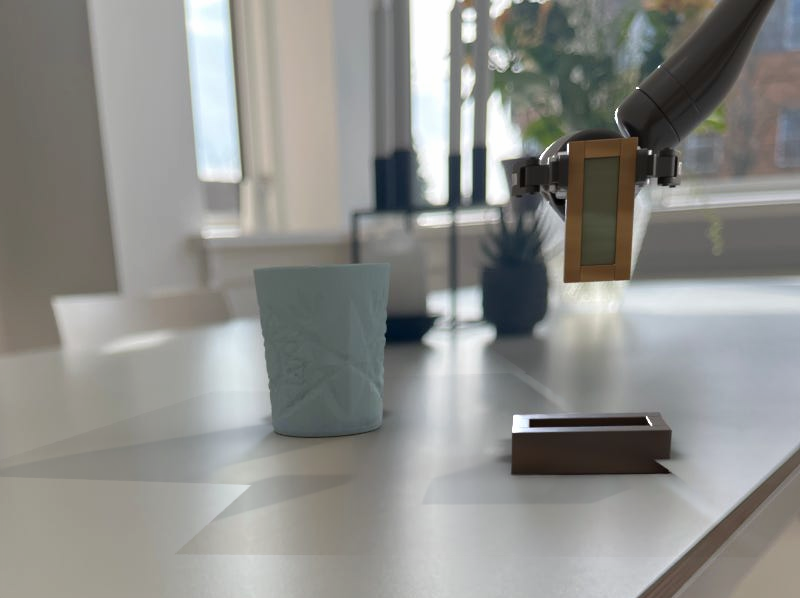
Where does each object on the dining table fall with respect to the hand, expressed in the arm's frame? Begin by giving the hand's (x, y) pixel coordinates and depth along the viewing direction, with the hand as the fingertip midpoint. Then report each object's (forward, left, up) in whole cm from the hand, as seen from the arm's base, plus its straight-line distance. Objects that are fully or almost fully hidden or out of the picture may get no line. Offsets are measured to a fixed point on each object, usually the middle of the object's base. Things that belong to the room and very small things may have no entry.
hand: (602, 167), depth 76 cm
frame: (0, -3, -8) cm, 8 cm away
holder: (+5, +20, -18) cm, 27 cm away
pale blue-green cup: (+21, +2, -18) cm, 28 cm away
